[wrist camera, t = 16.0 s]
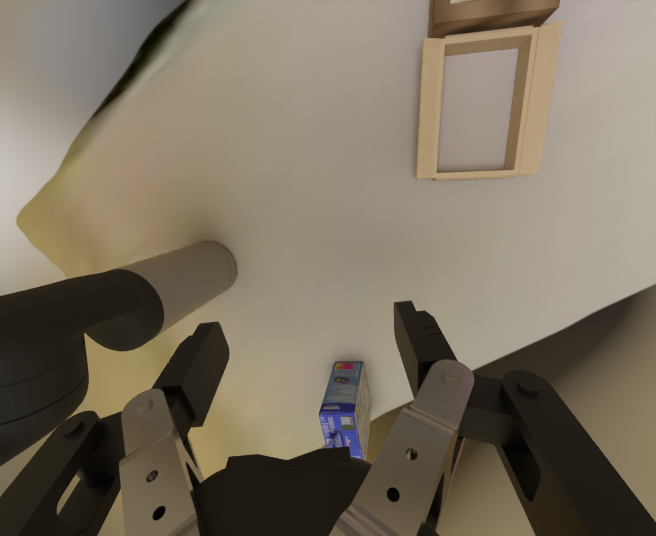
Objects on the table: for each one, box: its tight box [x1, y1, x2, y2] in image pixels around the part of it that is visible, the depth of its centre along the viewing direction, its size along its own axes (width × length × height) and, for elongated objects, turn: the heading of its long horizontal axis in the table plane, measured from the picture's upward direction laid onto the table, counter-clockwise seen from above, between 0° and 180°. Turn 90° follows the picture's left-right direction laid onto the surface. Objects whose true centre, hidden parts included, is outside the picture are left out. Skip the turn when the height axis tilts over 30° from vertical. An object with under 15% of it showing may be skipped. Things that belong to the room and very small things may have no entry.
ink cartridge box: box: [319, 362, 371, 461], centre depth 45 cm, size 10×6×14 cm, turn 11°
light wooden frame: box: [416, 21, 563, 180], centre depth 35 cm, size 14×16×4 cm
